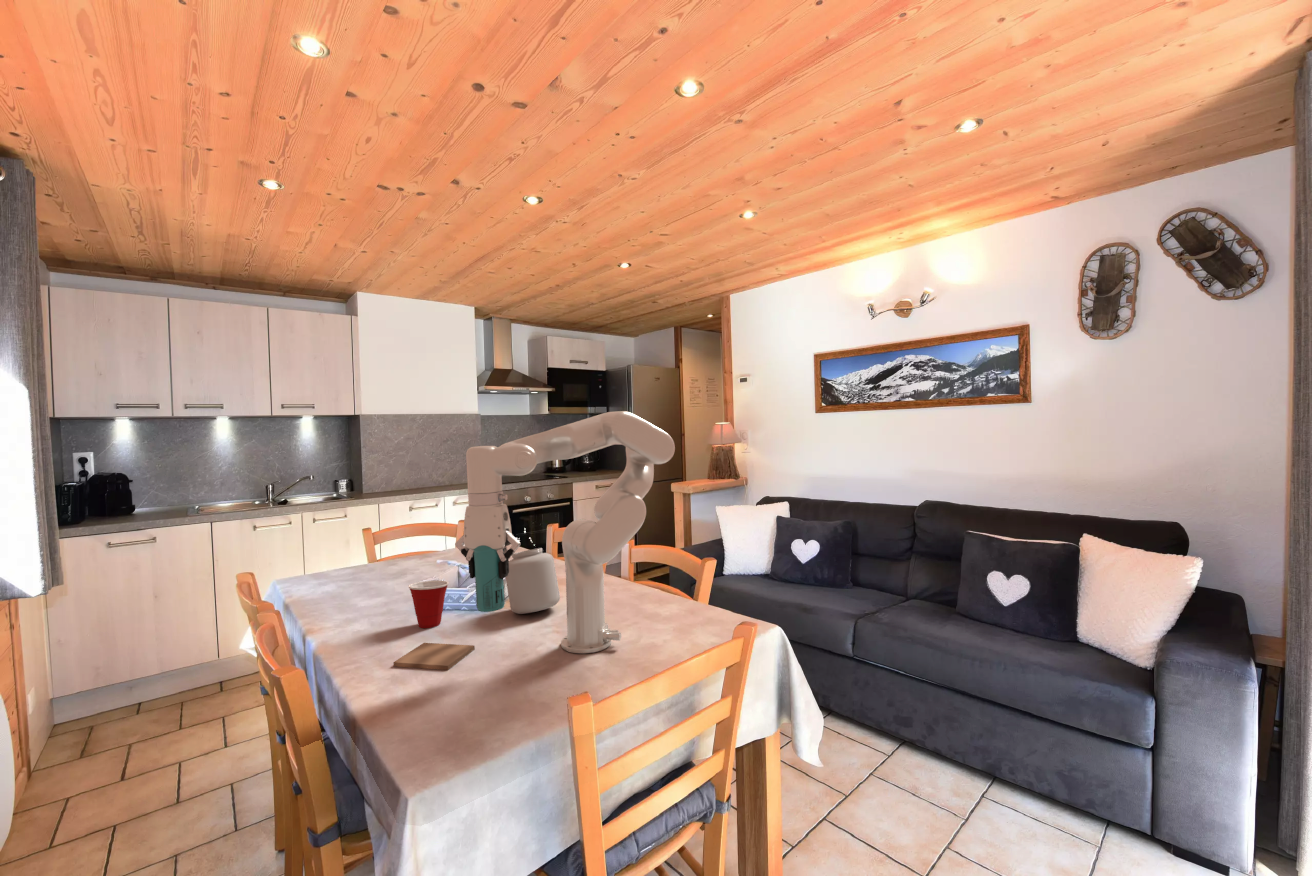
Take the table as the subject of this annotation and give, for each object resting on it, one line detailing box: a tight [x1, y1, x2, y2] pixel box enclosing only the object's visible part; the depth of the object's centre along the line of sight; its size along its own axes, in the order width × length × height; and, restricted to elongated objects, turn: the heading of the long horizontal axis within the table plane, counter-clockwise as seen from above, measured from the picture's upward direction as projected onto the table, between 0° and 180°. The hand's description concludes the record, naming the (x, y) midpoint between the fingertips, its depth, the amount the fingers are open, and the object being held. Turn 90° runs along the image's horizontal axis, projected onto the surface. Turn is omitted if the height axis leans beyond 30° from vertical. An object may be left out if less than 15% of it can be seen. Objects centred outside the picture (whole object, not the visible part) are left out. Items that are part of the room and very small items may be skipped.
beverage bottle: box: [474, 545, 506, 613], centre depth 129 cm, size 6×7×20 cm
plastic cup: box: [407, 580, 450, 629], centre depth 159 cm, size 11×11×12 cm
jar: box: [505, 527, 561, 615], centre depth 169 cm, size 19×15×25 cm
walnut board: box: [393, 642, 475, 671], centre depth 135 cm, size 14×12×1 cm
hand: (489, 576), depth 129 cm, fingers closed on beverage bottle, 6 cm apart
